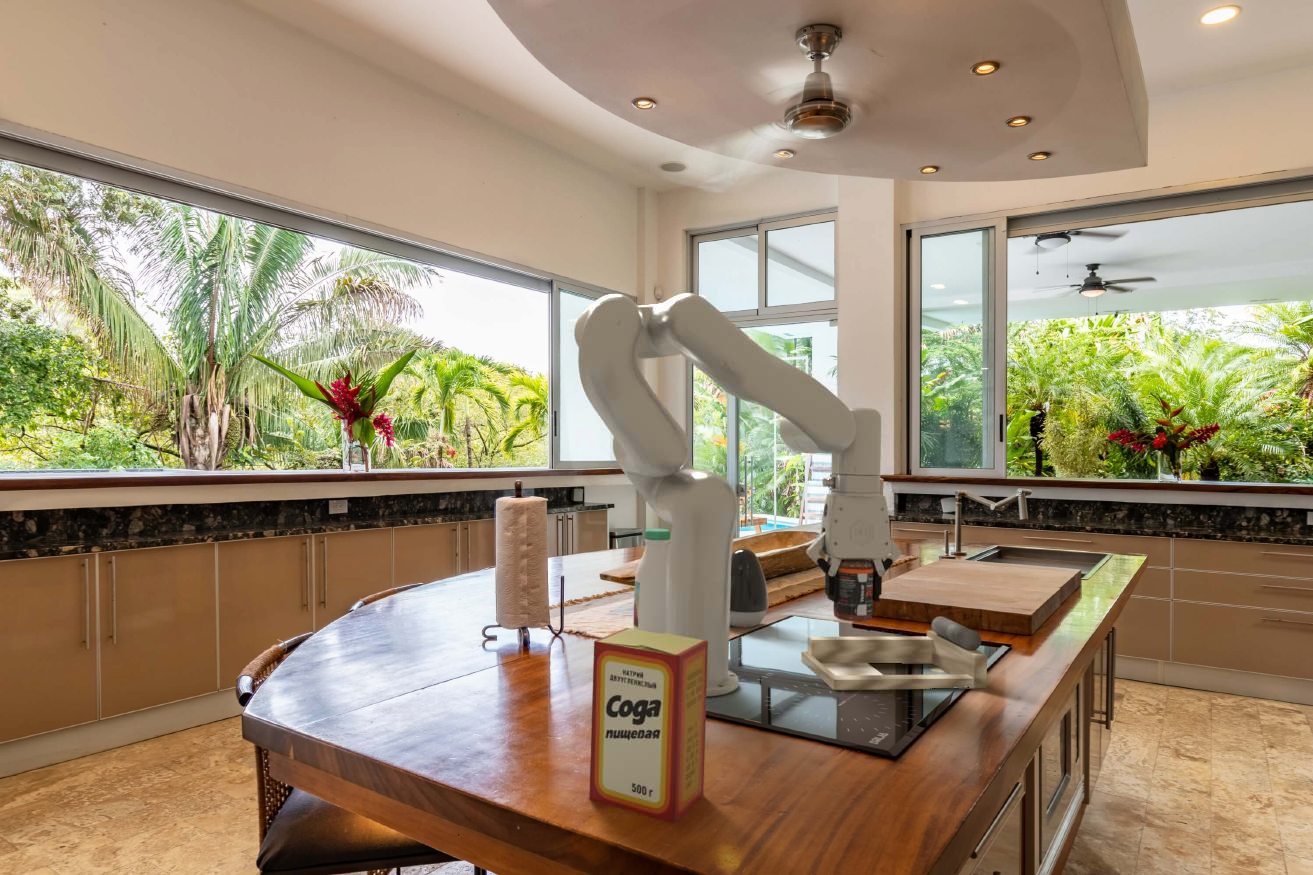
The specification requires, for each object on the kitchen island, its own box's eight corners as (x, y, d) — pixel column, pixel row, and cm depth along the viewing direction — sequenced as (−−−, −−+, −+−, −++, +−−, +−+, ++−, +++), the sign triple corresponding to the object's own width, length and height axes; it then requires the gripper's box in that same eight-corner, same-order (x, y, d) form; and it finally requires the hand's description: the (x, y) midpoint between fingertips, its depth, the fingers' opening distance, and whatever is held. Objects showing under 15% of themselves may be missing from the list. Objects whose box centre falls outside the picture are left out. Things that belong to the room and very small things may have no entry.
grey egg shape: (716, 617, 157) (718, 543, 157) (767, 620, 156) (769, 546, 156) (713, 628, 147) (715, 550, 147) (767, 632, 146) (770, 552, 146)
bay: (833, 689, 112) (835, 635, 112) (801, 660, 127) (802, 612, 127) (989, 687, 115) (990, 635, 115) (940, 659, 130) (941, 612, 130)
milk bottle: (683, 639, 138) (686, 529, 138) (661, 648, 132) (664, 533, 132) (648, 632, 142) (651, 526, 143) (624, 641, 136) (627, 529, 136)
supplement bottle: (873, 623, 117) (875, 550, 117) (833, 621, 118) (835, 548, 118) (870, 615, 122) (872, 545, 123) (832, 613, 124) (834, 543, 124)
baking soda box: (589, 798, 75) (594, 637, 76) (622, 774, 81) (626, 624, 81) (674, 823, 71) (680, 651, 71) (703, 795, 77) (708, 637, 77)
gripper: (810, 486, 115) (808, 605, 115) (918, 488, 118) (915, 604, 118) (795, 483, 123) (793, 595, 123) (896, 485, 125) (894, 595, 125)
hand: (853, 598), depth 120 cm, fingers closed on supplement bottle, 6 cm apart
